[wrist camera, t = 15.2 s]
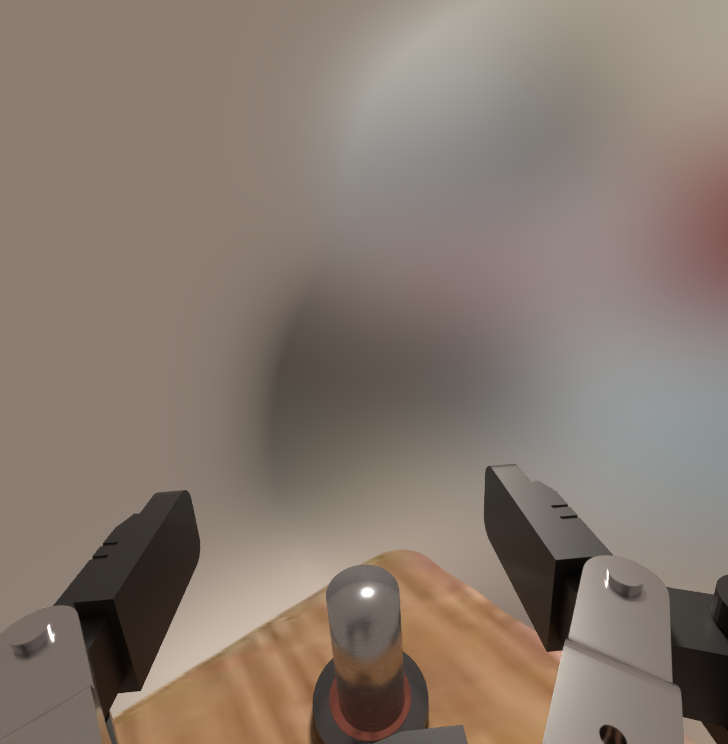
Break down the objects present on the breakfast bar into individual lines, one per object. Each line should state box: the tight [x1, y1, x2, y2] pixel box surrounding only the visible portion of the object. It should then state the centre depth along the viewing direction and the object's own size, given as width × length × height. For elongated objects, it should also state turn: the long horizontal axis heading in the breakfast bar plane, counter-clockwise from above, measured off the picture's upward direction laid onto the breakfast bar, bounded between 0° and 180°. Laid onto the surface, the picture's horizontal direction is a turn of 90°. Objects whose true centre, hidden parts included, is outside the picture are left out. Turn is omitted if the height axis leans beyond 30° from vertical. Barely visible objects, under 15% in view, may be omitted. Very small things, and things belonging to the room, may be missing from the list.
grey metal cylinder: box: [326, 565, 405, 732], centre depth 31 cm, size 5×5×10 cm
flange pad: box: [313, 652, 429, 744], centre depth 32 cm, size 9×9×1 cm
